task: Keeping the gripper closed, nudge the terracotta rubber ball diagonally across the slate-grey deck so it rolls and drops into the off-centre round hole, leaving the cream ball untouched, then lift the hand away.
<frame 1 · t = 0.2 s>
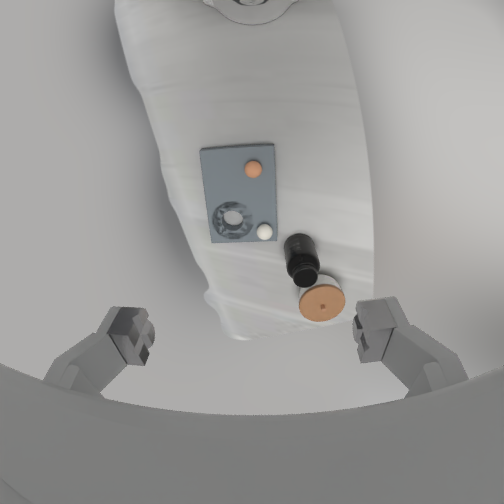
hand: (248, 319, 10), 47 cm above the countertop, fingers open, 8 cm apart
deck: (241, 193, 57), on the countertop
cream ball: (264, 232, 56), point 4 cm above the countertop, touching deck
supplement bottle: (299, 246, 63), on the countertop
terracotta ball: (253, 169, 50), point 4 cm above the countertop, touching deck
lidded jar: (317, 284, 68), on the countertop
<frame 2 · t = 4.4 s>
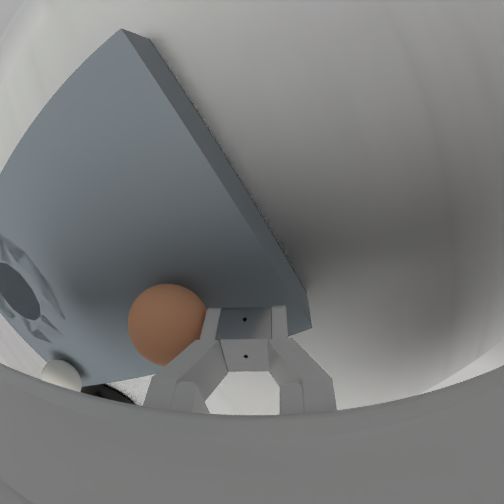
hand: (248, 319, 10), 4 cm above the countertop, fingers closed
deck: (88, 265, 14), on the countertop
cream ball: (61, 381, 14), point 4 cm above the countertop, touching deck
supplement bottle: (109, 396, 23), on the countertop
terracotta ball: (168, 325, 10), point 4 cm above the countertop, tilted 11°, touching deck, gripper
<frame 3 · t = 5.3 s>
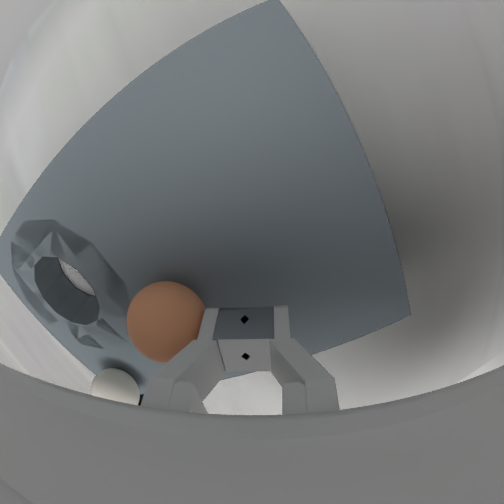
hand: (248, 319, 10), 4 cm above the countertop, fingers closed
deck: (164, 259, 14), on the countertop
cream ball: (115, 392, 14), point 4 cm above the countertop, touching deck
terracotta ball: (167, 322, 10), point 4 cm above the countertop, tilted 168°, touching deck
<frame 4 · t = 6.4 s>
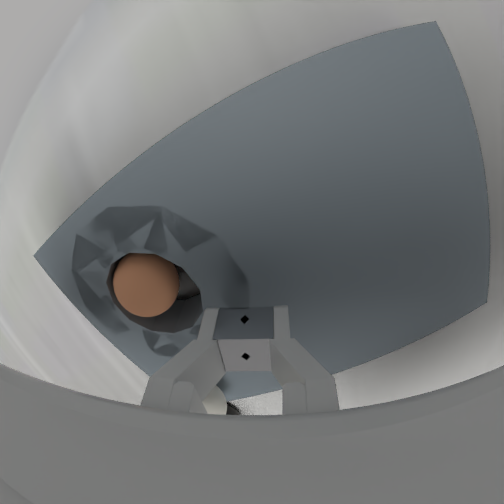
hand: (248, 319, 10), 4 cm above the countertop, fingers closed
deck: (275, 256, 13), on the countertop
cream ball: (198, 405, 14), point 4 cm above the countertop, touching deck
terracotta ball: (146, 282, 12), point 2 cm above the countertop, tilted 129°
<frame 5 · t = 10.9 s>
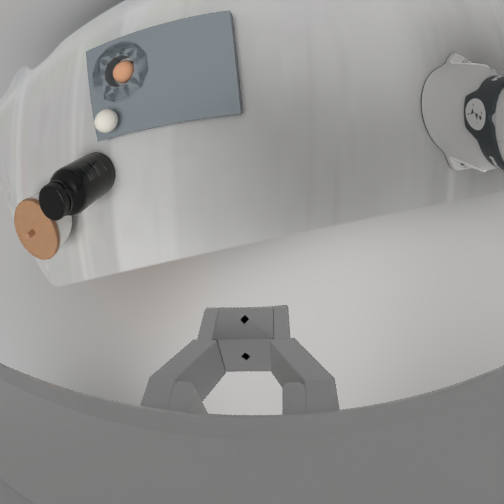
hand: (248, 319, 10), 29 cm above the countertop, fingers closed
deck: (161, 75, 30), on the countertop
cream ball: (106, 120, 29), point 4 cm above the countertop, touching deck
supplement bottle: (98, 172, 37), on the countertop
terracotta ball: (124, 71, 28), point 2 cm above the countertop, tilted 91°
lidded jar: (60, 210, 41), on the countertop
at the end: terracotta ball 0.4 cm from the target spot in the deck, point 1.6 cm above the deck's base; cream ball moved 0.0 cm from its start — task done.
